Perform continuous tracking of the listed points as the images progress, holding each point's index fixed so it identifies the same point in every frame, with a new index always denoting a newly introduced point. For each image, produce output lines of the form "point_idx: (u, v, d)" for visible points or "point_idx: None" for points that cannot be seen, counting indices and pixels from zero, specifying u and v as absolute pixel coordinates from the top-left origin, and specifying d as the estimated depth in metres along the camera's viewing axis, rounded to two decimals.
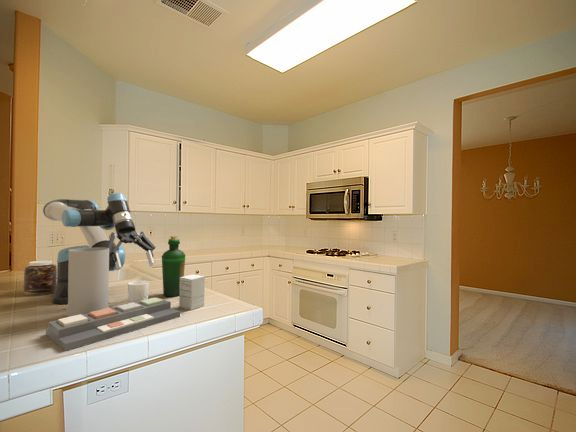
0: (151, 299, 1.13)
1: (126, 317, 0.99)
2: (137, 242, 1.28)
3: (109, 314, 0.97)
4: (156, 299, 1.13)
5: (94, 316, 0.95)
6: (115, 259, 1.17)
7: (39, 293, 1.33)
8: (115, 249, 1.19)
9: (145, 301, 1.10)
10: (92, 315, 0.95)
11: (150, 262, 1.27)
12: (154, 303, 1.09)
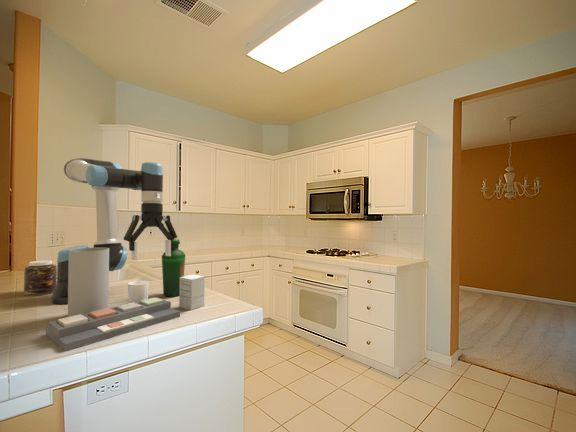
0: (151, 299, 1.13)
1: (126, 317, 0.99)
2: (160, 227, 1.14)
3: (109, 314, 0.97)
4: (156, 299, 1.13)
5: (94, 316, 0.95)
6: (132, 249, 1.05)
7: (39, 293, 1.33)
8: (135, 237, 1.06)
9: (145, 301, 1.10)
10: (92, 315, 0.95)
11: (167, 253, 1.17)
12: (154, 303, 1.09)
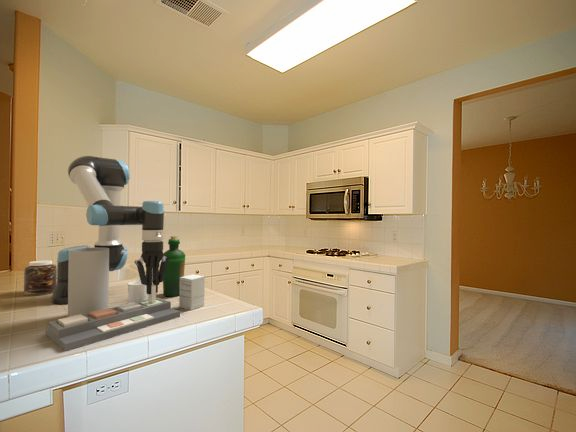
0: None
1: (126, 317, 0.99)
2: (154, 267, 1.12)
3: (109, 314, 0.97)
4: (156, 301, 1.13)
5: (94, 316, 0.95)
6: (150, 292, 1.10)
7: (39, 293, 1.33)
8: (150, 280, 1.10)
9: (145, 303, 1.10)
10: (92, 315, 0.95)
11: None
12: None
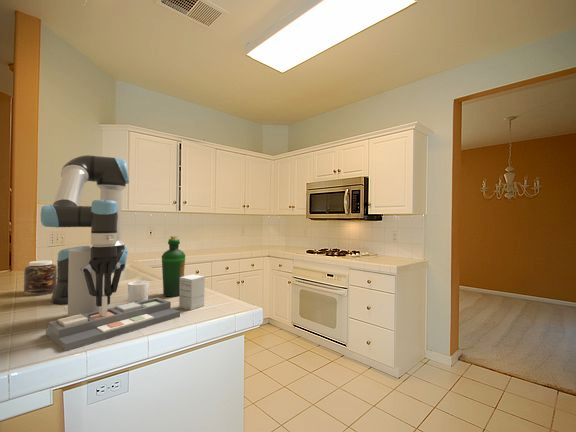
0: (151, 303, 1.13)
1: (126, 317, 0.99)
2: (105, 275, 0.98)
3: None
4: (156, 303, 1.13)
5: None
6: (100, 304, 0.96)
7: (39, 293, 1.33)
8: (100, 291, 0.96)
9: (145, 305, 1.10)
10: None
11: None
12: None
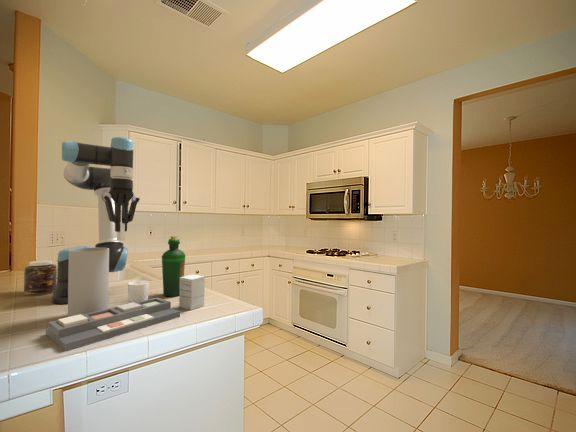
0: (151, 303, 1.13)
1: (126, 317, 0.99)
2: (123, 205, 1.11)
3: None
4: (156, 303, 1.13)
5: None
6: (118, 230, 1.09)
7: (39, 293, 1.33)
8: (119, 218, 1.09)
9: (145, 305, 1.10)
10: None
11: None
12: None
